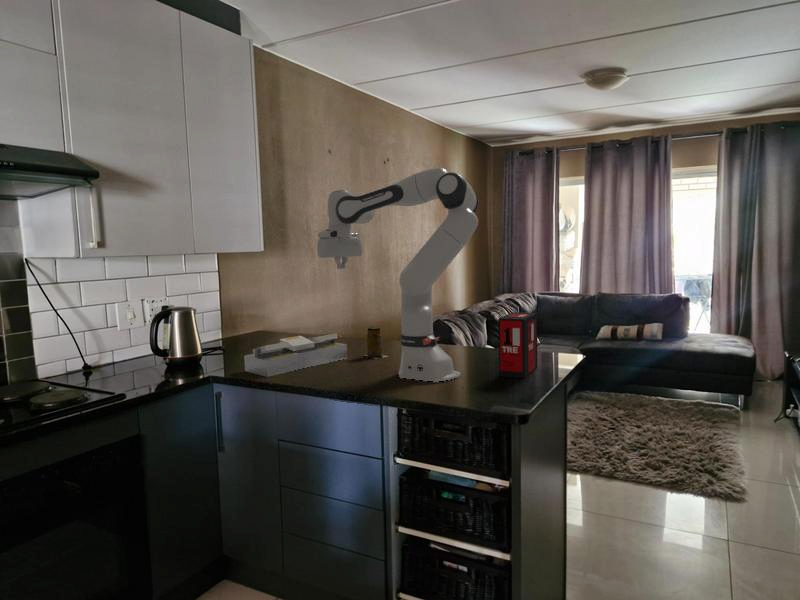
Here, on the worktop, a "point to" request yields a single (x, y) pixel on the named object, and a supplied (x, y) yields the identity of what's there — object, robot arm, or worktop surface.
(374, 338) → the condiment
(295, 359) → the switch unit
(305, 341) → the rocker
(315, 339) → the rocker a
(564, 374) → the worktop surface
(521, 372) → the cleaning product box
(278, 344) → the rocker
